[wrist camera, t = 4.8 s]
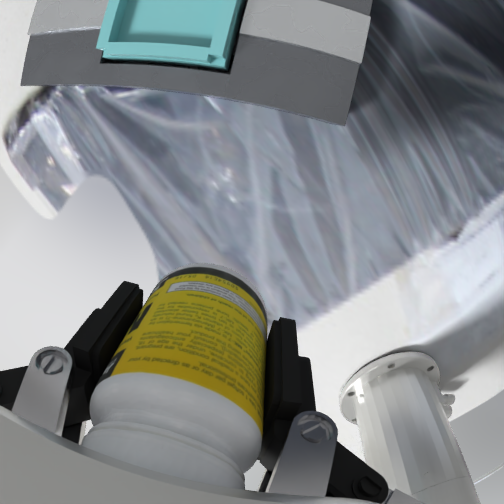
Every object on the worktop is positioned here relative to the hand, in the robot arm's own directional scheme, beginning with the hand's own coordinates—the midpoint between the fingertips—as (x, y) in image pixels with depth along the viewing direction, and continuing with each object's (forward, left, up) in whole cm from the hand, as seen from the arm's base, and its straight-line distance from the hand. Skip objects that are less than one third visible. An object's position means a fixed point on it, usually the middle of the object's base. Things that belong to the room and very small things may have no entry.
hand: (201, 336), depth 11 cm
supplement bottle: (0, 0, -2) cm, 2 cm away
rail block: (+7, -14, -15) cm, 22 cm away
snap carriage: (+7, -14, -12) cm, 20 cm away
